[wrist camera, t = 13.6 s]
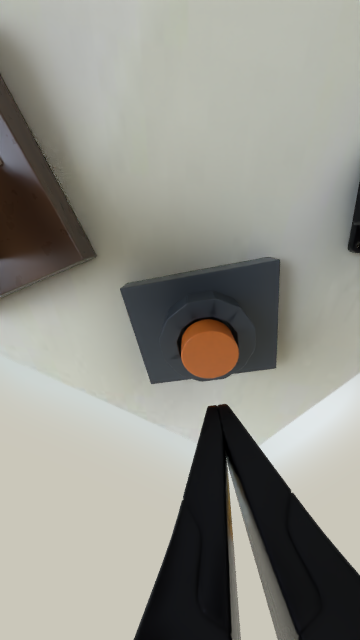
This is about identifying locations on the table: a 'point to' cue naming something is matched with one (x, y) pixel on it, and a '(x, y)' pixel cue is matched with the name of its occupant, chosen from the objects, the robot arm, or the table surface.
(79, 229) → the base
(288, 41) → the table surface
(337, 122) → the table surface
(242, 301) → the button housing
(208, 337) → the button
